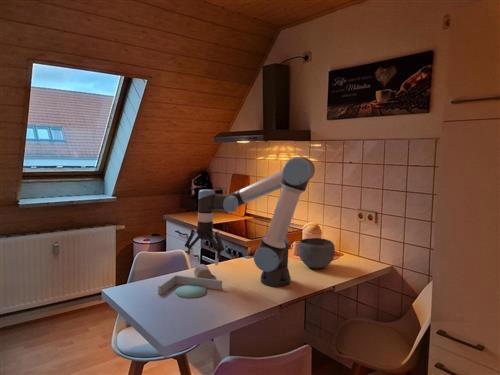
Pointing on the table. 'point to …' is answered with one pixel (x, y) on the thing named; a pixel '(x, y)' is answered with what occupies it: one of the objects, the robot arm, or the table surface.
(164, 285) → the end wall
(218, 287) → the divider wall
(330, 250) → the bowl
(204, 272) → the ceramic mug
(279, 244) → the robot arm
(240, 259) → the table surface
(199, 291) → the mat
